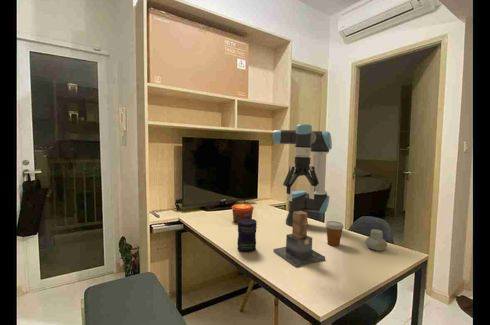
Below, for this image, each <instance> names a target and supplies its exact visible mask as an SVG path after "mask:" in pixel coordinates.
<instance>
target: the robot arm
mask: <svg viewBox="0 0 490 325" xmlns="http://www.w3.org/2000/svg"><path fill="white" fill-rule="evenodd" d="M312 126H313V125H311V124H306V123H305V124H304V123H303V124H302V123H301V124H297V125H296V126H295V127H296V128H295V129H274V131H273V133H272V142H273V143H274V144H276V145H277V144H278V145H292V146H294V156H295V157H294V164H295V166H293V165H292V166H288V167H289V168H288V171H287V175H286V177H285V178H284V181H283V186H285V187H286V194H287V199H286V200H287V201H288V213H287V215H286V219H285V225H287V226H288V227H289V226H290V227H293V212H296V211H303V212H305V213H307V212H316V213H323V214H325V213H326V212H327V210H328V208H329V203H330V196H329V195H328V192H327V191H326V176H327V175H326V172H327V171H326V170H327V155H328V154H329V152H330V150H332V146H333V142H332V141H333V140H332V136H331V133H330V132H329V131H326V130H317V131H316V130H313V127H312ZM311 154H312V159H311ZM311 160H312V165H311ZM302 176H305V178H306V179H307V180H308V182H309V184H310V185H309V192H308V193H307V191H306V190H293V187H292V186H293V184H295V182H296V180H297V179H298V178H299V177H302ZM308 222H309V221H308V220H307V226H308V225H309V224H308Z"/></svg>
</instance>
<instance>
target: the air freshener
mask: <svg viewBox="0 0 490 325" xmlns="http://www.w3.org/2000/svg"><path fill="white" fill-rule="evenodd" d="M383 237H384V232H383V231H382V230H381V229H376V228H372V229H371V230H370V236H368V237H366V238H365V240H364V243H365V245H366V247H367V248H369V249H371V250H373V251H377V252H380V251H384V250H386V249H387V247H388V242H387V241H386V240H385V239H384V238H383Z"/></svg>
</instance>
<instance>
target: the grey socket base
mask: <svg viewBox="0 0 490 325" xmlns="http://www.w3.org/2000/svg"><path fill="white" fill-rule="evenodd" d="M285 241H286V242H285V244H286V245H285V246H282V247H277V248H273V253H275V254H276V256H279V257H280V258H282V259H283V260H284V261H286V262H287V263H289V264H290V265H292V266H293V267H295V268H297V267H301V265H302V266H305V264H306V265H309V264H313V263H317V262H322V261H325V260H326V256H325V255H323V254H321V253H319V252H317V251H315V250H314V249H313V237H312V236H309V235H307V238H302V239H297V238H295V237H293V236H292V233H289V234H286V240H285Z"/></svg>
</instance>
